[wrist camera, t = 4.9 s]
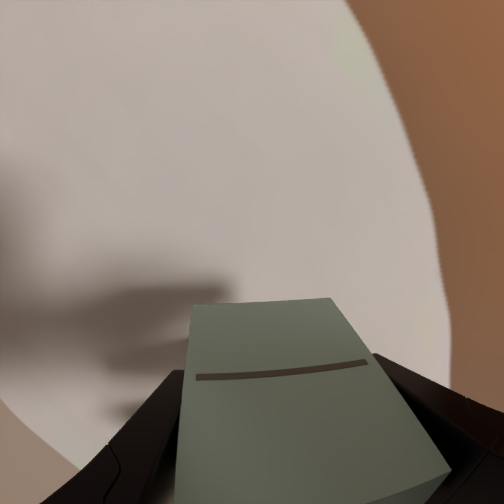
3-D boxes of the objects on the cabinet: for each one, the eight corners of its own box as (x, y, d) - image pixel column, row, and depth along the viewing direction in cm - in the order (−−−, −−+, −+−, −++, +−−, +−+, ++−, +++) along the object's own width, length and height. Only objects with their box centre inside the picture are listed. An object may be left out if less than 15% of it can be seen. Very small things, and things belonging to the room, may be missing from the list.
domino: (192, 304, 11) (172, 524, 3) (330, 297, 11) (452, 469, 4) (196, 342, 11) (188, 550, 4) (325, 334, 12) (421, 506, 4)
